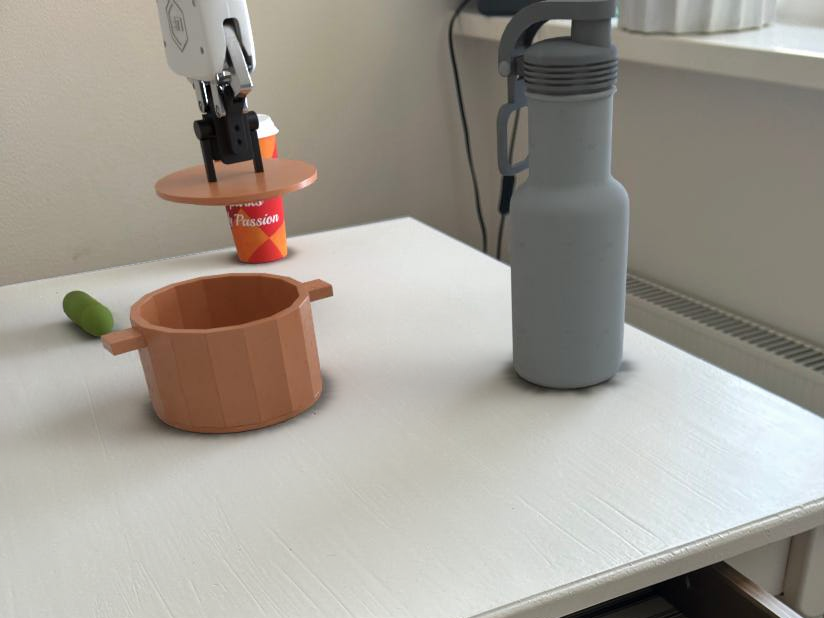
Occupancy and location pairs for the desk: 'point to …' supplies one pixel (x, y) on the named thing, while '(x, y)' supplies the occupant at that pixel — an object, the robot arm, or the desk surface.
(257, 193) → the lid
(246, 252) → the coffee cup
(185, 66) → the robot arm
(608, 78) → the water bottle
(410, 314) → the desk surface
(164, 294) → the pot
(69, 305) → the pickle
